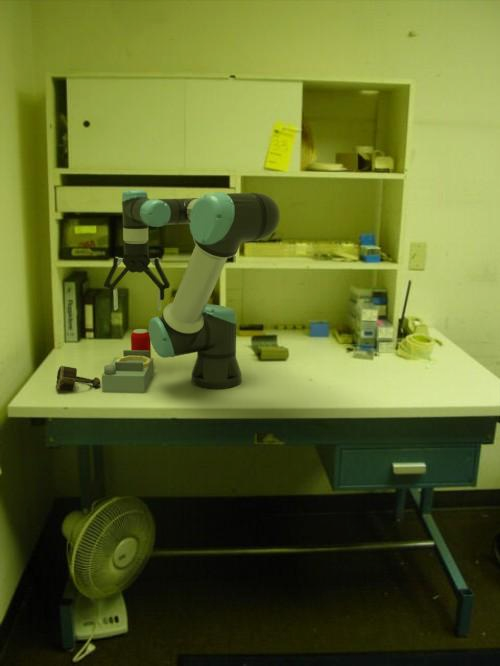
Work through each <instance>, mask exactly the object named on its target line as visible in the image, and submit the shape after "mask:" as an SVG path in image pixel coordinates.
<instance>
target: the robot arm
mask: <svg viewBox="0 0 500 666" xmlns="http://www.w3.org/2000/svg"><path fill="white" fill-rule="evenodd" d="M148 196H149V195H148V192H147V191H146V190H143V189H142V190H141V189H126V190H123V191H122V196H121V206H122V208H121V209H122V211H121V212H122V236H123V239H122V240H123V241H124V243H123V257H119V256H115V257H114V258H113V259H112V260H113V262H112V266H111V269H110V270H109V273H108V275H107V276H106V279H105V281H104V282H103V287H104V288H108V289H109V297H110V300H113V310H114V311H117V310H118V309H119V298H118V297H119V296H118V295H119V293H118V287H116V286H117V285H118V284H119V283H120V282H121V281H122V279H123V278H124V277H125V276H126V274H127V273H128V272H130V273H140V274H141V273H143V272H144V273H145V275H147V276H148V277H149V278H150V279H151V281H152V282H153V283H154V284H155V286H156V287H157V288H158V289H157V291H156V292H157V311H158V312H161V311H162V301H164V299H165V290H166V289H170V286H171V283H170V282H169V279H168V278H167V276H166V274H165V272H164V270H163V267H162V265H161V264H160V258H159V257H155V258H150V253H149V252H150V251H149V249H150V247H149V245H150V243H148V242H149V226H150V227H152V228H154V227H155V228H156V227H157V228H158V227H159V228H160V227H163V226H165V225H166V226H168V225H169V226H170V225H189V230H190V234H191V236H192V239H193V243H194V244H195V245H194V248H193V250H192V253H191V256H190V259H189V261H188V263H187V266H186V268H185V271H184V273H183V276H182V278H181V281H180V284H179V286H178V289H177V290H176V293H175V297H174V299H173V301H172V302H170V303H168V304H166V306H165V308H164V309H163V311H162V314H161V316H154V317H153V318H151V319H150V320H149V324H148V332H149V336H150V342H151V345H152V348H153V350H154V351H155V353H156V354H157V355H158V356H159V357H161V358H163V359H165V358H174V357H178V356H183V355H188V354H189V355H190V354H193V353H197V354H196V355H197V356H196V359H195V362H194V364H193V368H192V371H191V383H192V384H193V385H194V386H197V387H201V388H203V389H210V390H211V389H214V390H215V389H216V390H218V389H219V390H220V389H221V390H222V389H229V388H233V387H237V386H238V385H240V384H241V383H242V372H241V368H240V365H239V362H238V359H237V325H238V321H237V313H236V311H235V310H234V309H233V308H232V307H228V306H224V305H220V304H218V305H217V304H212V303H211V304H209V303H208V302H209V301H210V298H211V296H212V293H213V291H214V289H215V287H216V285H217V283H218V280H219V278H220V275H221V274H222V271H223V269H224V267H225V265H226V262H227V260H228V259H231V258H232V257H234V256H235V255H236V254H238V251H239V249H240V246H241V244H242V243H243V242H254V241H261V240H264V239H267V238H268V237H270V236H271V235H273V234H274V232H276V230H277V228H278V226H279V224H280V221H281V213H280V208H279V206H278V204H277V202H276V201H275V200H274V199H273V198H272V197H270V196H269V195H267V194H264V193H262V192H261V193H260V192H236V193H235V192H233V193H231V192H229V193H228V192H227V193H225V192H220V191H219V192H213V193H206V194H203V195H202V196H200V197H190V198H189V197H188V198H149V197H148ZM150 263H151V264H152V266H154V268H155V269H156V271H157V274H158V275H159V276H160V279H161V280H160V279H159V278H158V277H157V275H155V273H153V271H152V269H151V268H150V267H149V265H150ZM121 264H123V265H124V266H125V267H124V269H123V270H122V271H121V273H119V275H118V276H117V277H116V278H115V280H113V282H112V283H111V281H112V279H113V277H114V275H115V273H116V271H117V269H118V266H119V265H121ZM161 281H162V282H163V283H162V282H161Z"/></svg>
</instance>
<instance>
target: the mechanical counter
mask: <svg viewBox="0 0 500 666" xmlns="http://www.w3.org/2000/svg"><path fill="white" fill-rule="evenodd" d="M77 373H78V369H77V368H76V367H70V366H66V365H65V366H64V365H60V366H59V367H58V370H57V375H56V381H55V382H56V384H55V388H56V389H57V390H60V389H64V390H72V391H73V390H74V387H75V386H76V385H75V384H76V383H78V384H91V385H92V386H93V387H95V388H98V387H99V386H100V385H101V384H102V381H101V379H100V378H99V377H97V376H96V377H94V378H93V379H91V378H86V377H83V376H78V375H77Z"/></svg>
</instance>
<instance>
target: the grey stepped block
mask: <svg viewBox="0 0 500 666" xmlns="http://www.w3.org/2000/svg"><path fill="white" fill-rule="evenodd" d="M122 352H123V356H121V357H116V356H114V357H113V359H112V360H111V362H110V363H109V364H107V365H104V367H103V373H102V374H101V391H102V393H135V394H136V393H137V394H139V393H141V394H143V393H145V392H146V390H147V387H148V386H149V384H150V382H151V380H152V378H153V375H154V372H155V371H154V370H155V369H154V368H155V367H154V365H155V364H154V357H151V358H150V351H146V350H131V349H123V351H122Z"/></svg>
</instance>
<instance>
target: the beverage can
mask: <svg viewBox="0 0 500 666" xmlns="http://www.w3.org/2000/svg"><path fill="white" fill-rule="evenodd" d="M151 345H152V343H151V340H150V336H149V329H148V330H147V328H146V329H145V328H137V329H134V330H132V332H131V334H130V350H146V351H150V358H152V348H151Z"/></svg>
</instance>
